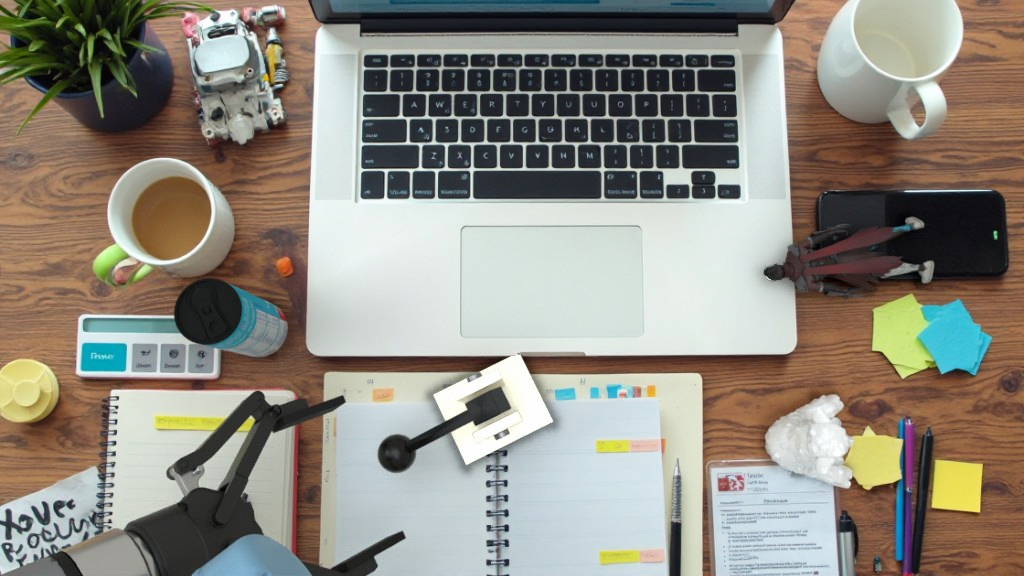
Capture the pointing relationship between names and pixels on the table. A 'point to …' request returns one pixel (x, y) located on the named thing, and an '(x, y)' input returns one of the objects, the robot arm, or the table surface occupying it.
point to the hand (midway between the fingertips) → (367, 469)
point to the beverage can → (229, 319)
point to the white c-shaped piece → (505, 427)
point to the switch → (440, 431)
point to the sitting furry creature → (812, 442)
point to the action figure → (846, 260)
